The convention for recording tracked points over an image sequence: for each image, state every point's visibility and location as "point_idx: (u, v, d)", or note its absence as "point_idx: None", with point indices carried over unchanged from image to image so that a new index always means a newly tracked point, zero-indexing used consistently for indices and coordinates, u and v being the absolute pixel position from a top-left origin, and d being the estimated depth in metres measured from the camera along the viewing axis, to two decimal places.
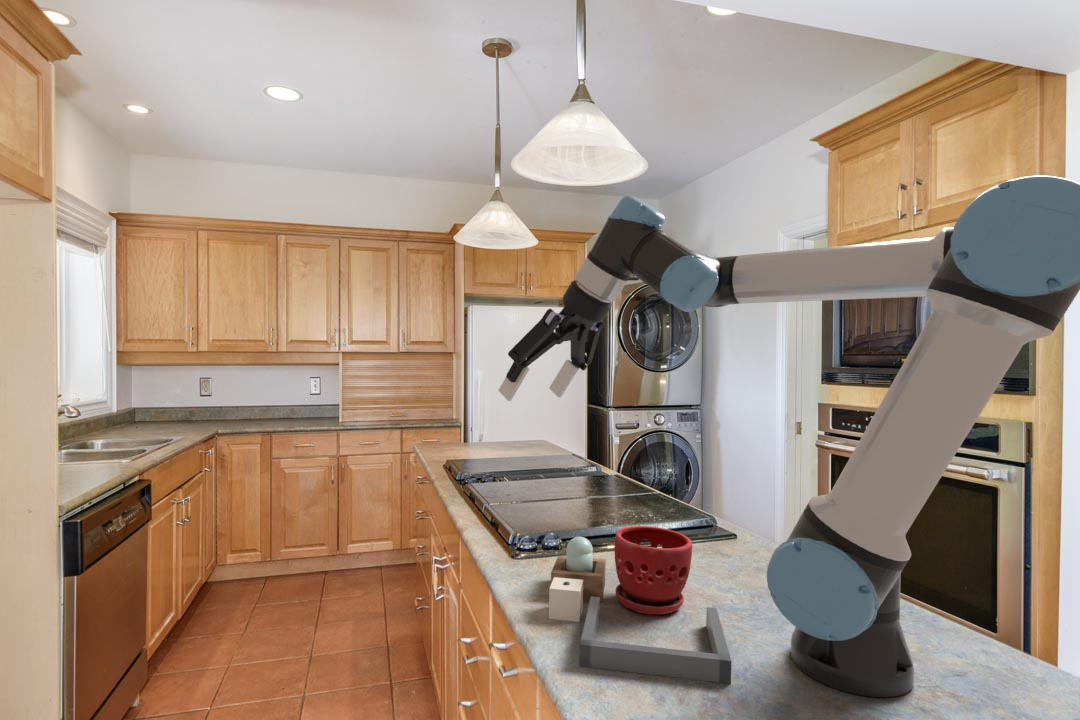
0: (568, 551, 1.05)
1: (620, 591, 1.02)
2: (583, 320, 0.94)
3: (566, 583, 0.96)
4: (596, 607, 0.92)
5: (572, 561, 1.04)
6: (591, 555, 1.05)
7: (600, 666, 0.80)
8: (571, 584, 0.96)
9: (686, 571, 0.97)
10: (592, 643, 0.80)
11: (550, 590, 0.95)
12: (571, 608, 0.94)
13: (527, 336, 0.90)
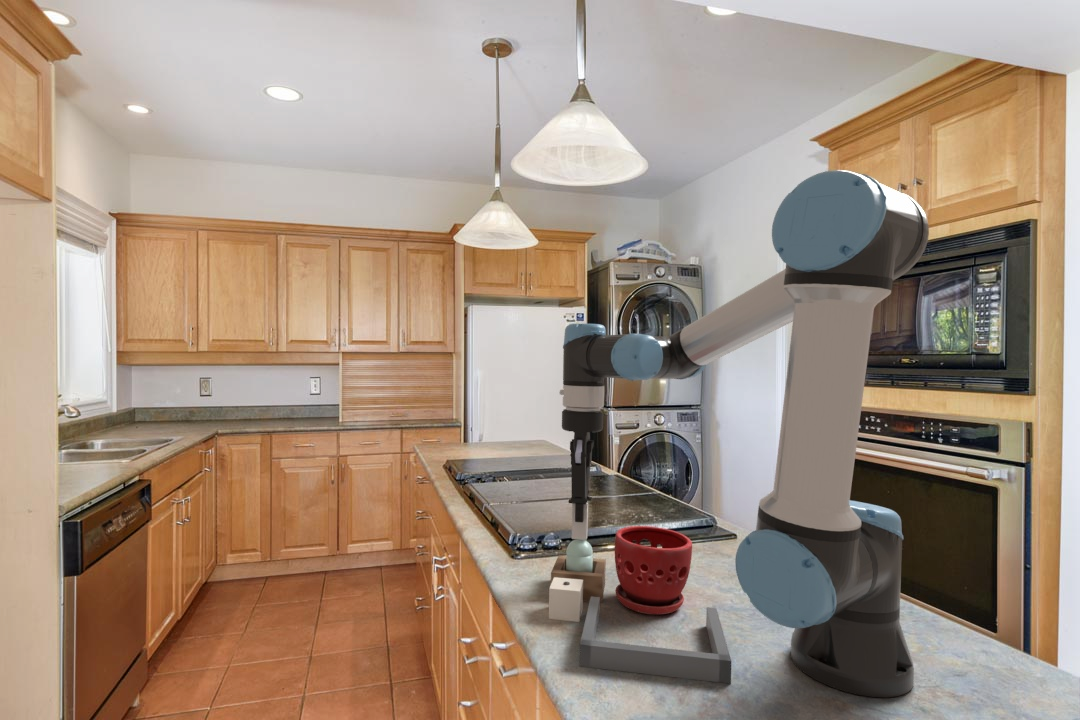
0: (568, 553, 1.05)
1: (620, 591, 1.02)
2: (588, 436, 1.06)
3: (566, 583, 0.96)
4: (596, 607, 0.92)
5: (572, 563, 1.04)
6: (591, 557, 1.05)
7: (600, 666, 0.80)
8: (571, 584, 0.96)
9: (686, 571, 0.97)
10: (592, 643, 0.80)
11: (550, 590, 0.95)
12: (571, 608, 0.94)
13: (573, 482, 1.02)
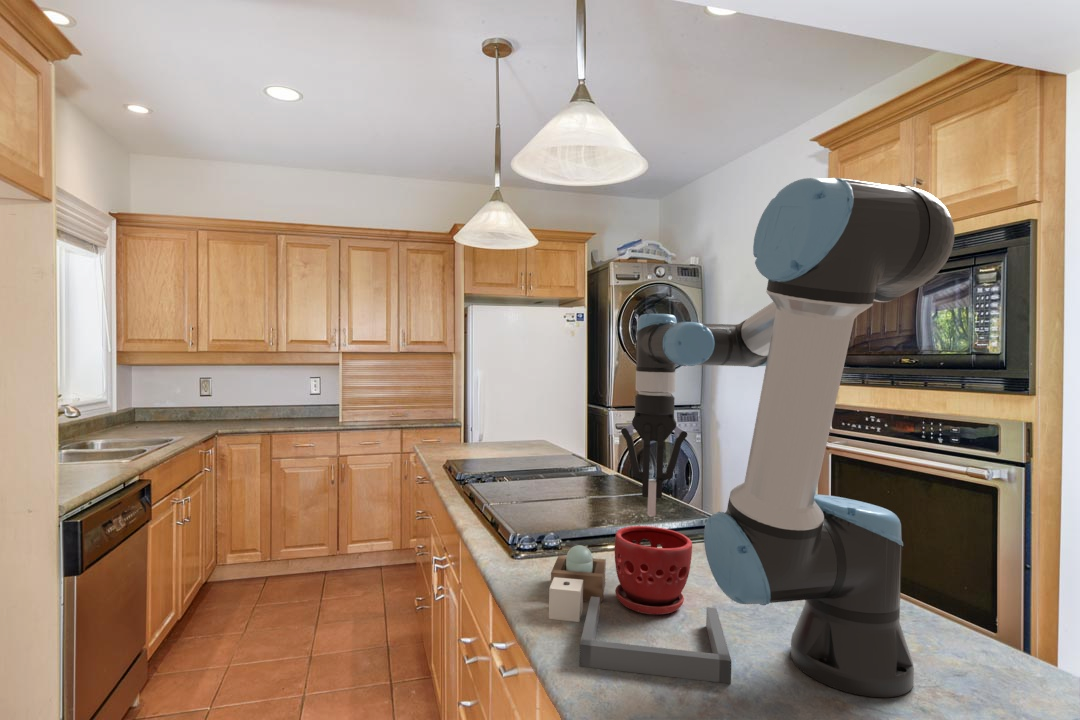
0: (568, 560, 1.05)
1: (620, 591, 1.02)
2: (655, 419, 1.13)
3: (566, 583, 0.96)
4: (596, 607, 0.92)
5: (572, 570, 1.04)
6: (591, 564, 1.05)
7: (600, 666, 0.80)
8: (571, 584, 0.96)
9: (686, 571, 0.97)
10: (592, 643, 0.80)
11: (550, 590, 0.95)
12: (571, 608, 0.94)
13: None
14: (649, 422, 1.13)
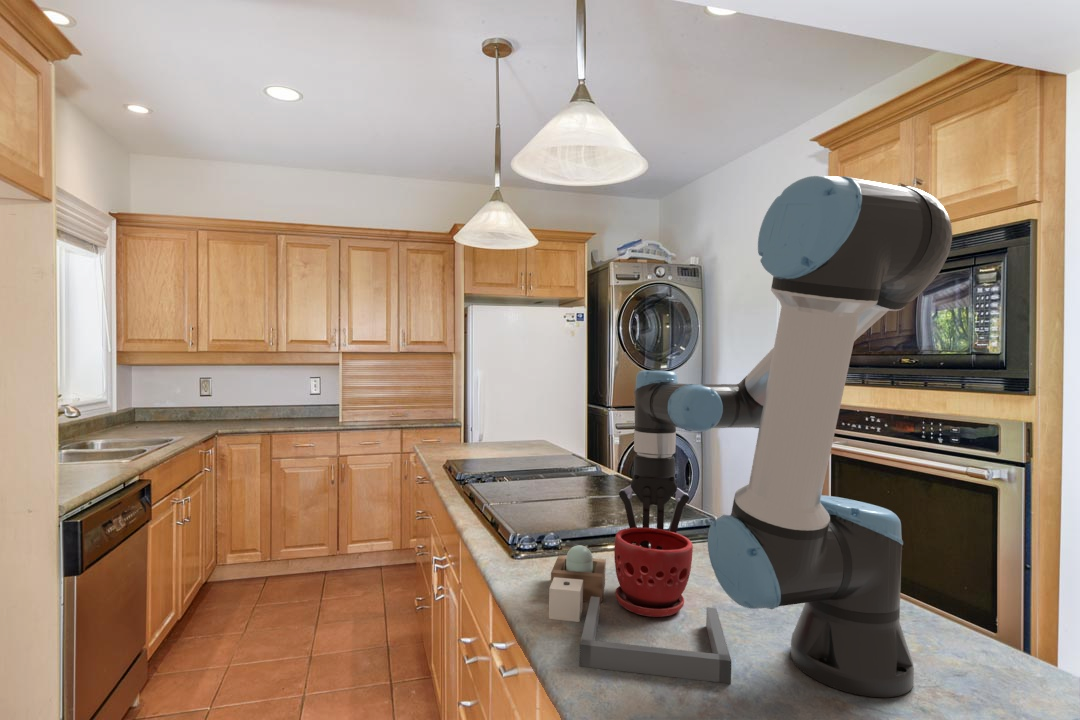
0: (568, 560, 1.05)
1: (620, 593, 1.01)
2: (655, 482, 1.06)
3: (566, 583, 0.96)
4: (596, 607, 0.92)
5: (572, 570, 1.04)
6: (591, 564, 1.05)
7: (600, 666, 0.80)
8: (571, 584, 0.96)
9: (687, 573, 0.96)
10: (592, 643, 0.80)
11: (550, 590, 0.95)
12: (571, 608, 0.94)
13: None
14: (648, 485, 1.07)
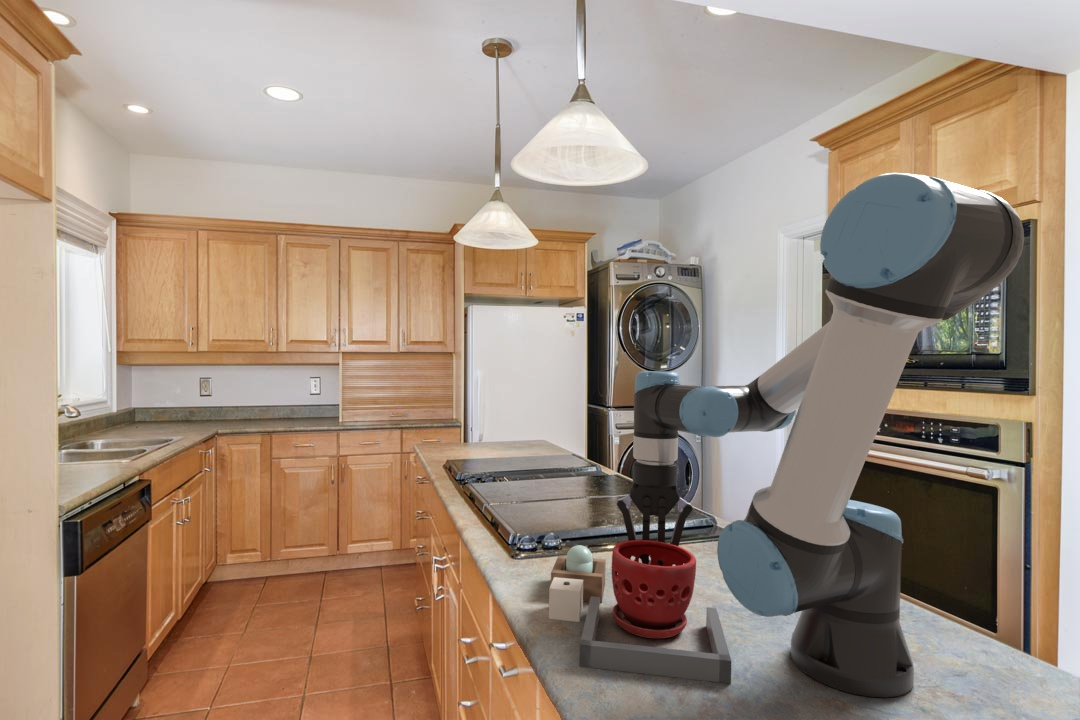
0: (568, 560, 1.05)
1: (618, 611, 0.94)
2: (656, 491, 0.99)
3: (566, 583, 0.96)
4: (596, 607, 0.92)
5: (572, 570, 1.04)
6: (591, 564, 1.05)
7: (600, 666, 0.80)
8: (571, 584, 0.96)
9: (690, 591, 0.89)
10: (592, 643, 0.80)
11: (550, 590, 0.95)
12: (571, 608, 0.94)
13: None
14: (649, 494, 0.99)
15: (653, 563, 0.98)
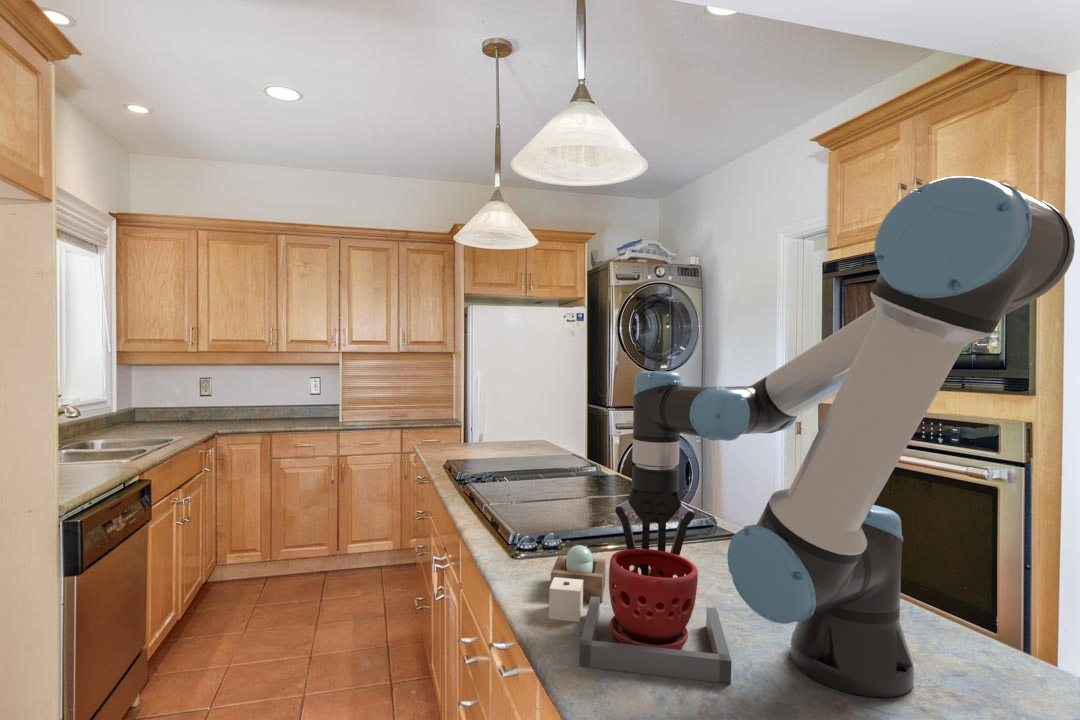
0: (568, 560, 1.05)
1: (615, 624, 0.89)
2: (656, 497, 0.94)
3: (566, 583, 0.96)
4: (596, 607, 0.92)
5: (572, 570, 1.04)
6: (591, 564, 1.05)
7: (600, 666, 0.80)
8: (571, 584, 0.96)
9: (691, 603, 0.84)
10: (592, 643, 0.80)
11: (550, 590, 0.95)
12: (571, 608, 0.94)
13: None
14: (649, 500, 0.95)
15: (653, 573, 0.94)
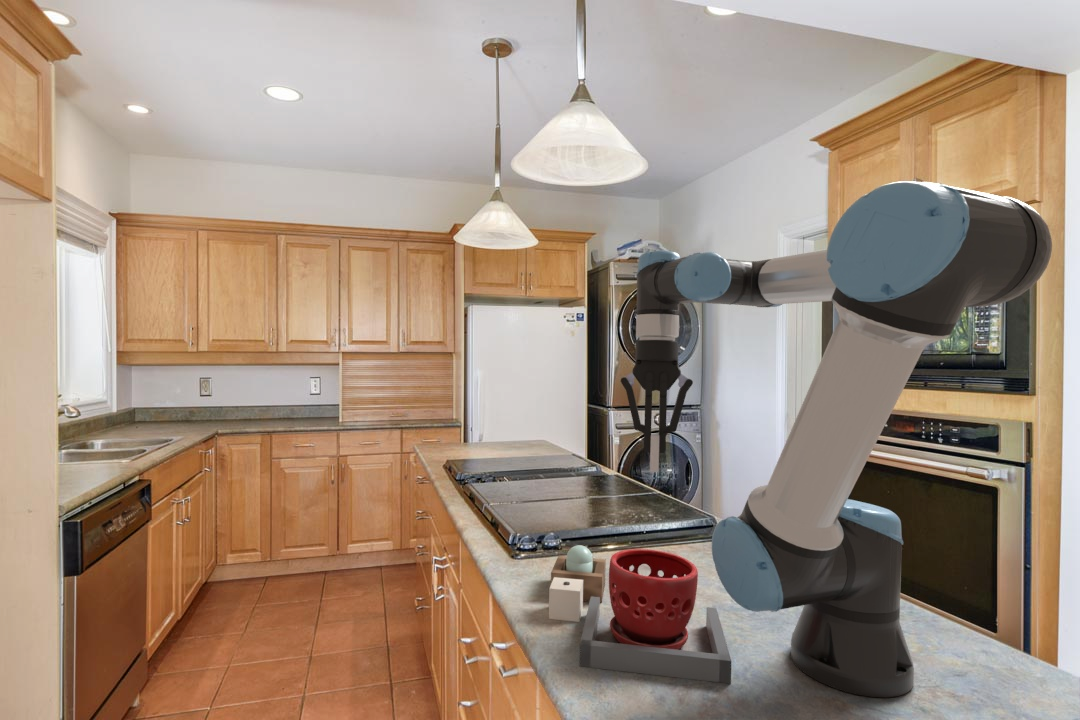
0: (568, 560, 1.05)
1: (615, 625, 0.89)
2: (658, 367, 1.04)
3: (566, 583, 0.96)
4: (596, 607, 0.92)
5: (572, 570, 1.04)
6: (591, 564, 1.05)
7: (600, 666, 0.80)
8: (571, 584, 0.96)
9: (691, 604, 0.84)
10: (592, 643, 0.80)
11: (550, 590, 0.95)
12: (571, 608, 0.94)
13: None
14: (651, 370, 1.04)
15: (653, 573, 0.94)
